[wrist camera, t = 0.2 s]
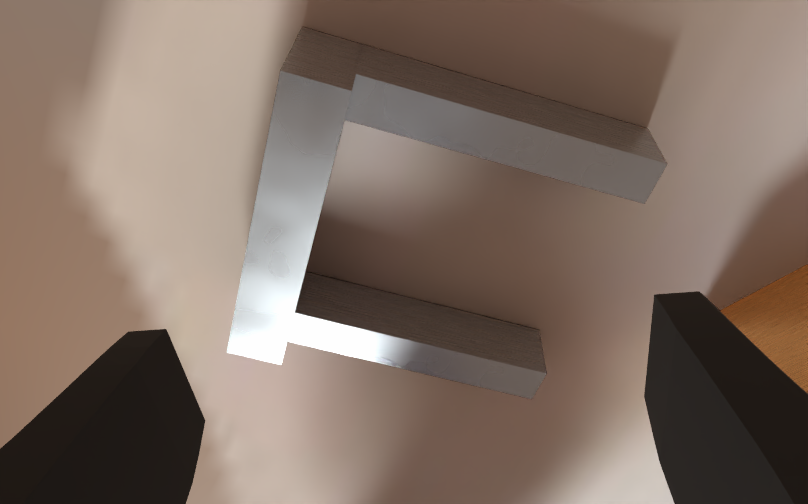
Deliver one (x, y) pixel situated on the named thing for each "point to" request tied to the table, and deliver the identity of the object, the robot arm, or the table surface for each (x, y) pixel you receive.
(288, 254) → the guide channel
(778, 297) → the block
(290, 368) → the table surface
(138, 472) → the robot arm
